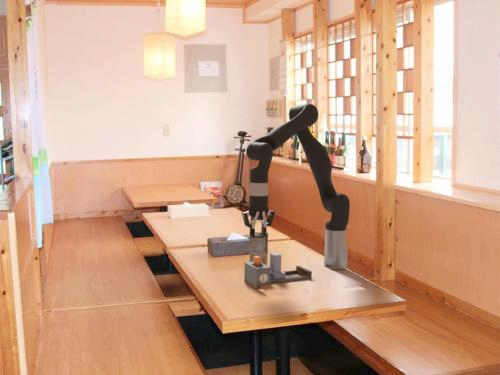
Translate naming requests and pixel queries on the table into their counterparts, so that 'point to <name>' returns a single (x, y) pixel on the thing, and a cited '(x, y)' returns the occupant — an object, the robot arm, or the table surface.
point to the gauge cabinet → (257, 273)
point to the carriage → (276, 267)
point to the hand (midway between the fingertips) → (257, 236)
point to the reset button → (257, 260)
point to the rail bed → (288, 276)
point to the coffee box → (259, 247)
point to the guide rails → (289, 278)
